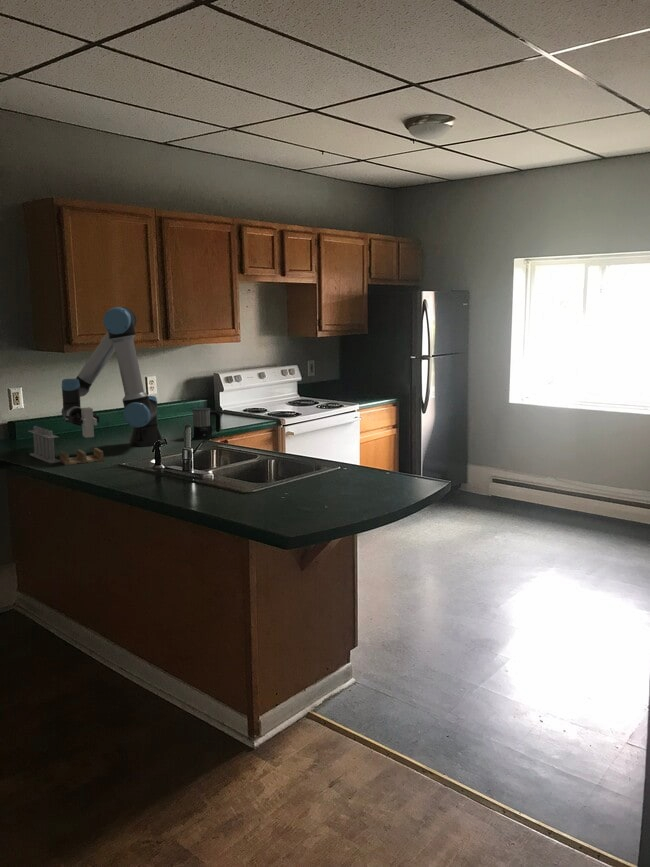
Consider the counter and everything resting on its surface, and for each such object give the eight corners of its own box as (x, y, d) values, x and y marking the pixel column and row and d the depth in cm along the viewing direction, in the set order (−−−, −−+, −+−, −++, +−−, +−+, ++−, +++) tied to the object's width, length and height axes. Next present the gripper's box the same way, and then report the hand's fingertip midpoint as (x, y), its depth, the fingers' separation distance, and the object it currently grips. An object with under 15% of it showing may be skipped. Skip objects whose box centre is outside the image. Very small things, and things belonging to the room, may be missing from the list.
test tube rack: (29, 455, 318) (27, 425, 316) (39, 454, 321) (37, 424, 319) (50, 463, 300) (48, 432, 297) (60, 462, 302) (58, 431, 300)
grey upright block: (91, 435, 308) (89, 407, 306) (94, 436, 303) (92, 408, 302) (82, 435, 306) (81, 407, 304) (85, 437, 302) (84, 409, 300)
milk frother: (198, 440, 354) (197, 410, 351) (183, 436, 366) (182, 407, 363) (223, 437, 362) (222, 407, 360) (208, 433, 375) (207, 404, 372)
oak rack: (98, 456, 313) (97, 447, 312) (104, 460, 304) (103, 451, 304) (59, 460, 304) (59, 451, 304) (65, 465, 296) (64, 455, 295)
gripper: (96, 422, 324) (111, 429, 304) (58, 425, 315) (70, 433, 295) (95, 406, 322) (110, 412, 303) (57, 408, 314) (69, 415, 294)
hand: (90, 422), depth 299 cm, fingers closed on grey upright block, 3 cm apart
